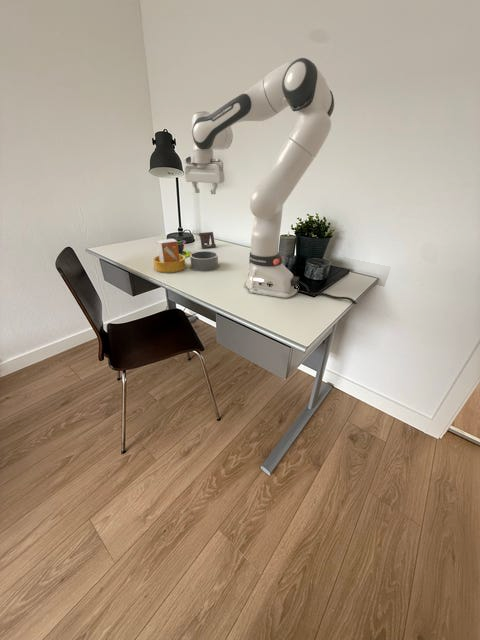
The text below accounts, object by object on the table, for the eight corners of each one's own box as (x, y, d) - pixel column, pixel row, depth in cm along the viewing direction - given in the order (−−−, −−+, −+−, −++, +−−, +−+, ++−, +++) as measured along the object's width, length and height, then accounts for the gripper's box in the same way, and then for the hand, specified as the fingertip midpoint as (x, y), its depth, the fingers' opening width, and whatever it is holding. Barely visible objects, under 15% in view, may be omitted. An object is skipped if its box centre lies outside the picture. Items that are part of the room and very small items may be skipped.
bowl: (191, 266, 135) (190, 256, 132) (170, 275, 124) (169, 265, 121) (170, 261, 141) (168, 252, 139) (148, 269, 130) (146, 259, 128)
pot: (223, 265, 137) (223, 253, 134) (207, 273, 127) (206, 260, 124) (202, 260, 143) (201, 249, 140) (185, 267, 133) (184, 256, 130)
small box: (165, 270, 128) (161, 243, 121) (160, 266, 133) (156, 240, 126) (180, 267, 132) (177, 240, 125) (175, 263, 137) (172, 238, 130)
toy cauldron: (176, 249, 161) (174, 230, 156) (195, 253, 155) (194, 234, 149) (158, 255, 150) (155, 235, 145) (178, 260, 144) (175, 239, 138)
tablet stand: (202, 248, 163) (201, 234, 159) (198, 245, 169) (197, 232, 165) (215, 247, 166) (215, 233, 162) (212, 244, 172) (211, 231, 168)
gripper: (227, 159, 114) (227, 194, 121) (190, 159, 123) (192, 191, 130) (218, 158, 110) (219, 195, 117) (181, 158, 119) (184, 192, 126)
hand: (205, 193), depth 124 cm, fingers open, 8 cm apart
